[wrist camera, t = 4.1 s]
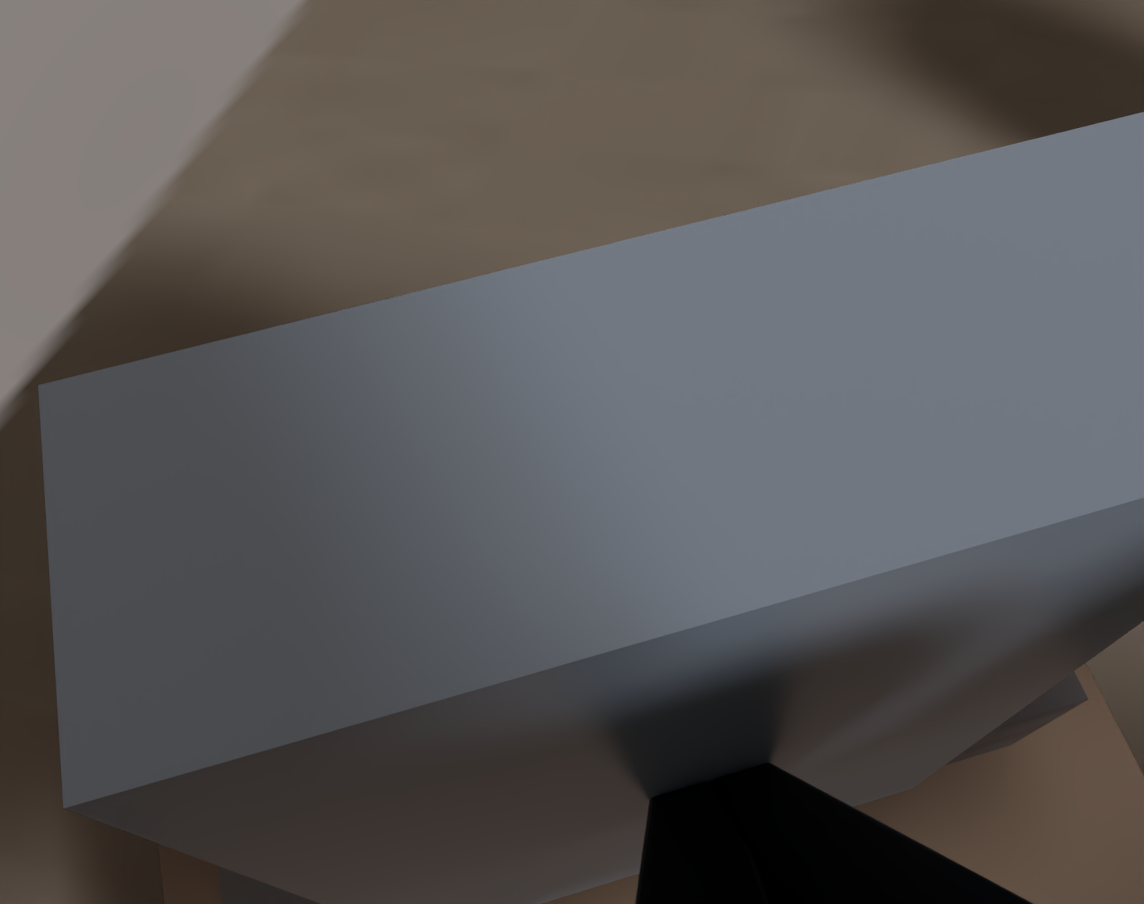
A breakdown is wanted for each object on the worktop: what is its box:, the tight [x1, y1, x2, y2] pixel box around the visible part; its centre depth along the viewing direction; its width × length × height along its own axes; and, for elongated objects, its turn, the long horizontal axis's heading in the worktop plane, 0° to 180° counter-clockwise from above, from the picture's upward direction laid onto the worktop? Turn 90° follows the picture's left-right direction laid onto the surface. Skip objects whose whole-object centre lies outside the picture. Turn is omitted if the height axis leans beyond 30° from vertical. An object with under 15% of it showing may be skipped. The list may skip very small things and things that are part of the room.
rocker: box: [38, 112, 1144, 904], centre depth 9 cm, size 2×6×10 cm, turn 106°
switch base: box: [158, 663, 1144, 904], centre depth 14 cm, size 10×12×5 cm
